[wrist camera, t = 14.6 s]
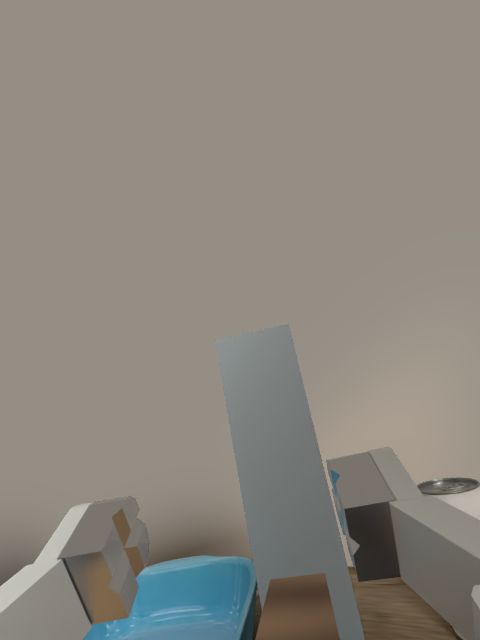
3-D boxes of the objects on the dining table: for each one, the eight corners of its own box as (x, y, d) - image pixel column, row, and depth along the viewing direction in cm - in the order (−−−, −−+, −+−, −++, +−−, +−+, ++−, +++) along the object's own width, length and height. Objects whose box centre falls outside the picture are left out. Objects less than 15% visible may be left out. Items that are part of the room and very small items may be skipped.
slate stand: (348, 604, 38) (289, 353, 46) (387, 731, 23) (288, 324, 31) (286, 613, 39) (239, 364, 47) (284, 744, 23) (215, 340, 32)
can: (439, 621, 32) (399, 485, 36) (504, 606, 33) (458, 473, 36) (485, 668, 26) (431, 498, 30) (565, 649, 26) (501, 483, 30)
